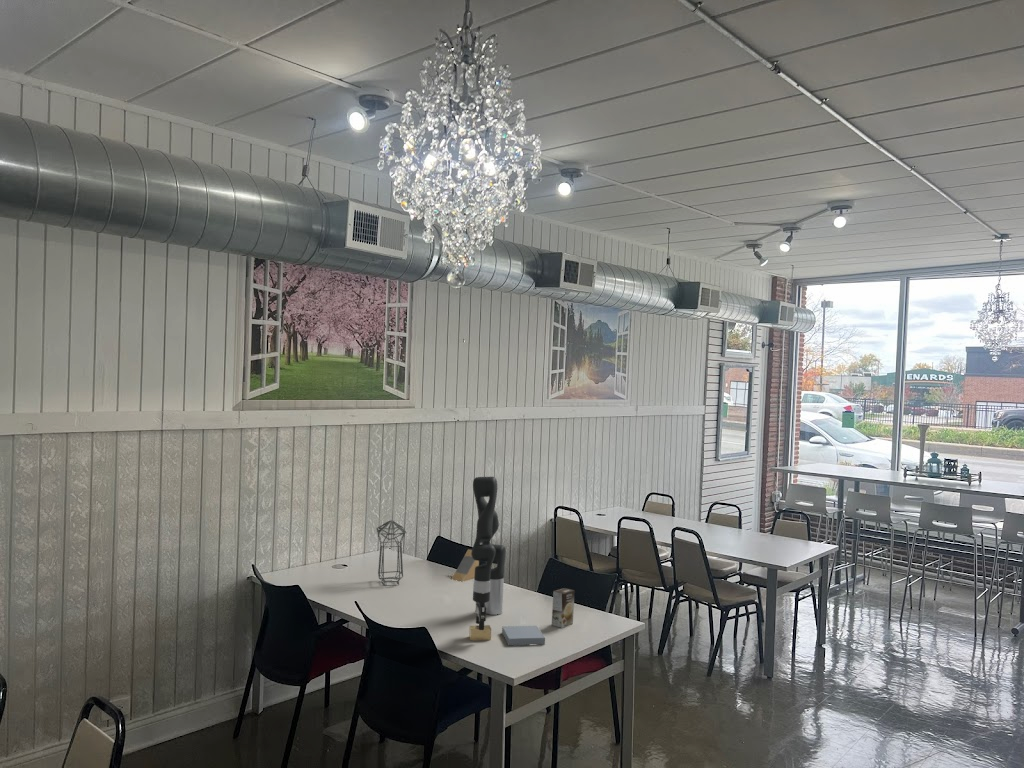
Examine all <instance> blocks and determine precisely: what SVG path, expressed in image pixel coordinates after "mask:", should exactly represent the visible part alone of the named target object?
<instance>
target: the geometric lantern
mask: <svg viewBox="0 0 1024 768" xmlns="http://www.w3.org/2000/svg"><path fill="white" fill-rule="evenodd" d="M375 529H376V534H377V537H378V541H379V545H380V546H379V556H378V557H379V559H378V570H377V575H378V579H379V580H381V582H382V581H383V582H382V583H384V584H383V586H386V583H395V582H396V583H397V584H399V585H400V580H401V579H403V578H404V569H403V567H404V566H403V565H404V564H403V550H402V549H403V547H402V546H403V540H404V538H405V536H406V534H407V531H406V530H405V527H404V526H403V525H401V524H399V523H397V522H395V520H393V519H391V520H388V521H386V522H384V523H383V524H381V525H379V526H378V527H376V528H375ZM395 529H396V530H395ZM386 530H387V531H386ZM391 530H392V532H390V531H391ZM399 530H400V532H398V531H399ZM397 532H398V533H397ZM380 535H381V536H382V537H384V540H383V541H382V539H381V536H380ZM392 535H393V538H390V536H392ZM400 536H401V538H400V541H399V540H398V537H400ZM386 539H387V541H386ZM390 540H394V542H395V543H396V544H397V545H396V546H395V545H394V546H390V545H389V546H388V548H397V560H396V561H397V563H396V564H397V565H396V570H393V571H391V570H390V571H385V562H384V561H385V559H384V558H385V547H386V545H387V543H389V542H390ZM387 573H395V576H389V577H387V576H386V577H385V576H384V575H385V574H387ZM392 580H397V581H392Z"/></svg>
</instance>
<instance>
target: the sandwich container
mask: <svg viewBox="0 0 1024 768" xmlns="http://www.w3.org/2000/svg"><path fill="white" fill-rule="evenodd" d="M465 552H466V553H464V556H463V558H462V559H461V561H460V563H459V565H458V567H457V568H456V570H455V572H454V574H453V575H452V577H451V580H452V579H454V580H453V581H456V580H457V581H456V582H460V581H461V583H464V582H466V581H470V580H474V575H475V567H476V566H479V565H480V561H476V560H474V559H473V558H472V555H471V552H472V549H469V548H468V549H467V551H465ZM463 581H464V582H463Z"/></svg>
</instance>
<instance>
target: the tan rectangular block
mask: <svg viewBox="0 0 1024 768" xmlns="http://www.w3.org/2000/svg"><path fill="white" fill-rule="evenodd" d="M468 630H469V631H468V638H469V637H470V638H469V640H470V641H471V640H473V641H492V628H491V625H489V624H487V625H486V624H484V630H479V625H469V629H468Z"/></svg>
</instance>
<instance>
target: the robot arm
mask: <svg viewBox="0 0 1024 768" xmlns="http://www.w3.org/2000/svg"><path fill="white" fill-rule="evenodd" d="M472 490H473V494H474V495H473V496H474V498H475V503H476V507H477V508H476V509H477V515H478V518H477V521H476V533H475V534H476V536H475V540H474V544H473V546H472V548H471V550H472V552H471V555H472V558H473V559H474V560H476V561H479V562H482V561H483V562H485V563H483V564H481V565H480V564H479V566H476V567H475V575H474V578H473V587H472V589H473V590H472V601H474V602H475V611H474V612H475V617H476V618H475V623H476V624H477V625H478V626H479V630H484V625H485V622H486V621H487V617H486V616H487V615H491V616H496V615H497V614H498V615H501V614H502V613H503V603H504V585H505V584H504V582H505V581H504V580H505V578H504V577H505V567H506V566H505V564H506V556H507V555H506V554H507V550H506V546H505V545H503V544H496V543H495V544H493V543H491V540H492V538H493V537H494V536H495V534H496V533H497V531H498V529H499V528H500V527H499V518H498V517H499V516H498V513H497V511H496V510H495V507H496V502H497V495H498V481H497V478H496V477H495V476H477V477H474V479H473V480H472ZM485 497H488V502H487V501H486V499H485ZM493 564H495V565H496V567H493V568H492V566H493Z"/></svg>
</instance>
